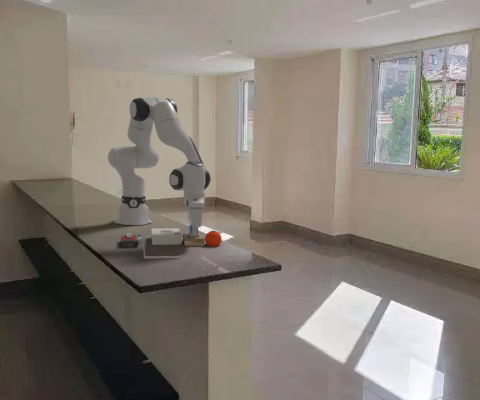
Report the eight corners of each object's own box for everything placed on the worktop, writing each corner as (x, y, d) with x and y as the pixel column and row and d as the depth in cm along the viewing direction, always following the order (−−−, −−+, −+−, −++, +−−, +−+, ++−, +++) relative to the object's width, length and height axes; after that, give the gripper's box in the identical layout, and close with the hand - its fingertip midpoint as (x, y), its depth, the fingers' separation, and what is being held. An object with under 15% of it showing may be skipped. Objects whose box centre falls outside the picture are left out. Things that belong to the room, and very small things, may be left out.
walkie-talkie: (142, 248, 199) (141, 238, 219) (142, 237, 199) (141, 228, 218) (120, 249, 197) (121, 238, 217) (120, 238, 197) (121, 228, 216)
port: (151, 239, 215) (151, 227, 214) (178, 239, 217) (179, 227, 216) (152, 247, 201) (152, 234, 200) (181, 246, 203) (181, 234, 203)
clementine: (205, 244, 209) (206, 228, 208) (222, 245, 209) (222, 228, 208) (203, 248, 201) (204, 231, 200) (220, 249, 201) (221, 232, 200)
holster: (182, 242, 210) (182, 233, 210) (201, 242, 212) (201, 233, 212) (184, 248, 201) (185, 238, 200) (204, 248, 202) (204, 238, 202)
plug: (188, 242, 208) (189, 225, 207) (196, 242, 208) (197, 225, 207) (189, 244, 204) (189, 227, 203) (197, 243, 205) (198, 227, 204)
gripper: (184, 197, 213) (183, 228, 215) (189, 204, 194) (188, 238, 195) (198, 197, 215) (198, 228, 216) (204, 204, 195) (204, 238, 197)
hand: (193, 233), depth 206 cm, fingers open, 4 cm apart
